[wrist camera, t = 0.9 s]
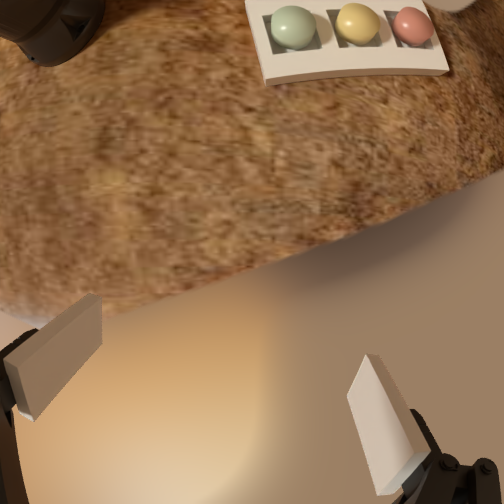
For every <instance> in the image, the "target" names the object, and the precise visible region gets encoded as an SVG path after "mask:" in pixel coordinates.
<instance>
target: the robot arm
mask: <svg viewBox="0 0 504 504" xmlns="http://www.w3.org/2000/svg"><path fill="white" fill-rule="evenodd" d="M104 10H105V3H104V0H0V37H2V38H5V39H7V40H10V41H12V42H15V43H16V44H17V45H18V46H19V48H20V49H21V50H22V51H23V53H24V54H25V55H26V56H27V58H28V59H29V60H30V61H32V62H33V63H35V64H38V65H40V66H44V67H52V66H56V65H59V64H61V63H63V62H65V61H67V60H68V59H70V58H71V57H73V56H74V55H75V54H76V53H77V52H79V51H80V50H81V49H82V48H83V47H84V46H85V45H86V44H87V42H88V41H89V40H90V39H91V38H92V36H93V35H94V33H95V32H96V30H97V28H98V27H99V25H100V23H101V20H102V18H103V15H104ZM101 344H102V297H100V296H97V295H94V294H91V293H89V294H87V295H86V296H84V297H83V298H82V299H80V300H79V301H78V302H76V303H75V304H73V305H72V306H71V307H69V308H68V309H67V310H65V311H64V312H63V313H61V314H60V315H59V316H57V317H56V318H55V319H53V320H52V321H51V322H49V323H48V324H47V325H45V326H44V327H43V328H41V329H40V330H38V329H36V328H35V329H32V330H30V331H27V332H25V333H23V334H22V335H21V336H19V337H18V339H16V340H14V341H13V343H10V344H9V345H8V346H6V347H5V348H4V349H2V350H1V351H0V504H29V502H28V498H27V494H26V490H25V485H24V481H23V476H22V471H21V466H20V461H19V455H18V449H17V442H16V435H15V426H14V416H13V411H12V409H11V408H12V407H13V406H14V405H15V404H17V407H18V410H19V413H20V414H21V415H23V416H24V417H26V418H28V419H29V420H31V421H33V422H34V421H35V420H36V419H37V418H38V417H39V415H40V414H41V413H42V412H43V410H44V409H45V408H46V407H47V406H48V405H49V404H50V402H51V401H52V400H53V399H54V397H55V396H56V395H57V394H58V393H59V392H60V391H61V389H62V388H63V387H64V386H65V385H66V384H67V383H68V381H69V380H70V379H71V378H72V377H73V376H74V375H75V373H76V372H77V371H78V370H79V369H80V368H81V367H82V365H83V364H84V363H85V362H86V361H87V360H88V359H89V357H91V355H92V354H93V353H94V352H95V351H96V350H97V349H98V348H99V347H100V345H101ZM347 399H348V402H349V405H350V408H351V411H352V414H353V417H354V420H355V424H356V427H357V430H358V433H359V436H360V439H361V443H362V446H363V449H364V452H365V456H366V459H367V462H368V466H369V469H370V472H371V476H372V479H373V483H374V486H375V490H376V493H377V496H379V495H388V494H394V493H395V492H396V491H397V490H398V489H399V487H401V485H402V488H403V491H404V492H403V493H402V494H401V495H400V496H399V497H398V498H397V499H396V500H395V501H394V502H393V503H392V504H502V503H501V492H500V482H499V475H498V469H497V466H496V465H495V463H494V462H493V461H491V460H490V459H487V458H480V459H478V460H477V461H476V462H475V463H474V464H473V466H464V465H460V464H459V462H458V461H457V459H456V458H455V457H453V456H451V455H449V454H446V453H444V454H442V452H441V450H440V448H439V446H438V445H437V443H436V441H435V439H434V437H433V435H432V433H431V432H430V430H429V428H428V426H426V423H425V421H424V419H423V417H422V416H421V415H420V414H419V413H418V412H417V411H416V410H415V409H409V408H408V406H407V404H406V402H405V400H404V399H403V397H402V395H401V393H400V392H399V390H398V388H397V386H396V384H395V382H394V381H393V379H392V377H391V375H390V373H389V372H388V370H387V368H386V366H385V365H384V363H383V361H382V360H381V358H380V356H379V355H371V354H366V355H365V357H364V359H363V362H362V364H361V366H360V369H359V371H358V373H357V375H356V377H355V379H354V382H353V384H352V386H351V388H350V390H349V392H348V394H347Z"/></svg>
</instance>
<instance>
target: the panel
mask: <svg viewBox="0 0 504 504" xmlns="http://www.w3.org/2000/svg"><path fill="white" fill-rule="evenodd" d="M349 3H359V4H363V5H365V6H367V7H369V8H370V9H372V10H373V11H374V12H375V13H376V14H377V16H378V17H379V19H380V23H381V26H380V29H379V31H378V32H377V33H376V35H375V36H374V37H373V38H372V40H371V41H370V42H369V43H367V44H365V45H354V44H351V43H348V42H346V41H345V40H343V39H342V38H341V37H340V36H339V35H338V33H337V32H336V29H335V21H336V19H337V17H338V15H339V12H340V10H341V8H342V7H343V6H344V5H346V4H349ZM245 6H246V12H247V16H248V20H249V23H250V27H251V31H252V35H253V38H254V42H255V46H256V50H257V54H258V58H259V62H260V66H261V70H262V74H263V78H264V82H265V86H266V87H267V86H273V85H279V84H285V83H292V82H299V81H307V80H316V79H325V78H336V77H349V76H367V75H431V76H440V75H442V74H444V73H446V72H448V71H449V67H448V64H447V61H446V58H445V55H444V52H443V50H442V47H441V44H440V41H439V39H438V36H437V34H436V31H435V29H434V33H433V35H432V36H431V37H430V38H429V39H428V40H426V41H425V42H424V43H423V44H421V45H420V46H409V45H407V44H405V43H403V42H402V41H401V40H399V39H398V38H397V37H396V35H395V34H394V32H393V30H392V27H391V22H392V20H393V19H394V17H395V16H396V15H397V14H398V13H399V12H400V10H401V9H402V8H404V7H414V8H417V9H419V10H420V11H422V12H423V13H425V14H426V15H427V16H428V17H429V15H428V13H427V10H426V8H425V6H424V4H423V2H422V0H245ZM284 6H299V7H302V8H304V9H306V10H308V11H309V12H310V13H312V15H313V16H314V17H315V20H316V29H315V32H314V35H313V38H312V41H311V42H310V44H309V45H307V46H306V47H304V48H302V49H297V50H291V49H286V48H283V47H281V46H279V45H278V44H277V43H276V42H275V41H274V40H273V38H272V36H271V18H272V15H273V14H274V12H275V11H276V10H278V9H279V8H281V7H284ZM429 19H430V17H429ZM430 20H431V19H430ZM433 27H434V26H433Z"/></svg>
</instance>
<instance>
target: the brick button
mask: <svg viewBox="0 0 504 504" xmlns="http://www.w3.org/2000/svg"><path fill="white" fill-rule="evenodd" d="M391 27H392V30H393V32H394V34H395V35H396V37H397V38H398V39H399V40H401V41H402V42H403V43H405V44H407V45H409V46H420V45H421V44H423V43H424V42H425V41H426V40H428V39H429V38H430V37H431V36H432V35H433V33H434V27H433V24H432V22H431V20H430V19H429V17H428V16H427V15H426V14H425V13H423V12H422V11H420V10H419V9H417V8H414V7H404V8H402V9H401V10H400V12H399V13H398V14H397V15H396V16H395V17H394V19H393V20H392V22H391Z"/></svg>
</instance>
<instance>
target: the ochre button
mask: <svg viewBox="0 0 504 504" xmlns="http://www.w3.org/2000/svg"><path fill="white" fill-rule="evenodd" d="M380 26H381V23H380V19H379V17H378V16H377V14H376V13H375V12H374V11H373V10H372V9H370V8H369V7H367V6H365V5H363V4H359V3H349V4H346V5H344V6H343V7H342V8H341V10H340V12H339V15H338V17H337V19H336V21H335V29H336V32H337V33H338V35H339V36H340V37H341V38H342V39H343V40H345V41H346V42H348V43H351V44H354V45H365V44H367V43H369V42H370V41H371V40H372V38H373V37H374V36H375V35H376V33H377V32H378V31H379V29H380Z"/></svg>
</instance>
